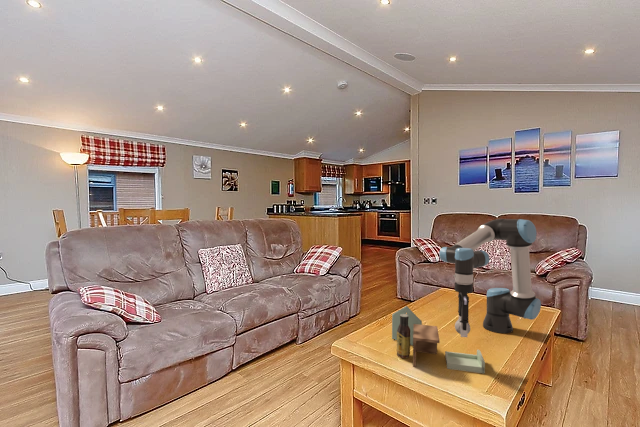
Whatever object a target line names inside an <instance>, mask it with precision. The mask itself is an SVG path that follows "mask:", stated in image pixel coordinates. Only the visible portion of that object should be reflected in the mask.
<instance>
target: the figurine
mask: <svg viewBox="0 0 640 427" xmlns="http://www.w3.org/2000/svg"><path fill="white" fill-rule="evenodd" d="M460 321H461V318H459V317H458V319H457V320H456V321H455V323H454V329H455V332H457V333H458V334H459V335H461V322H460ZM470 332H471V325H470V322H469V323H468V334H469V333H470Z"/></svg>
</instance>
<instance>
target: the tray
mask: <svg viewBox="0 0 640 427" xmlns="http://www.w3.org/2000/svg"><path fill="white" fill-rule="evenodd" d="M444 358H445V365H446V369H447V370H452V371H455V370H456V371H462V372H469V373H476V374H485V373H486V361H485V359H484V357H483V354H482V352H481V350H480V349H476V354H472V353H463V352H457V351H456V352H453V351H447V350H446V351H444Z"/></svg>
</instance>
